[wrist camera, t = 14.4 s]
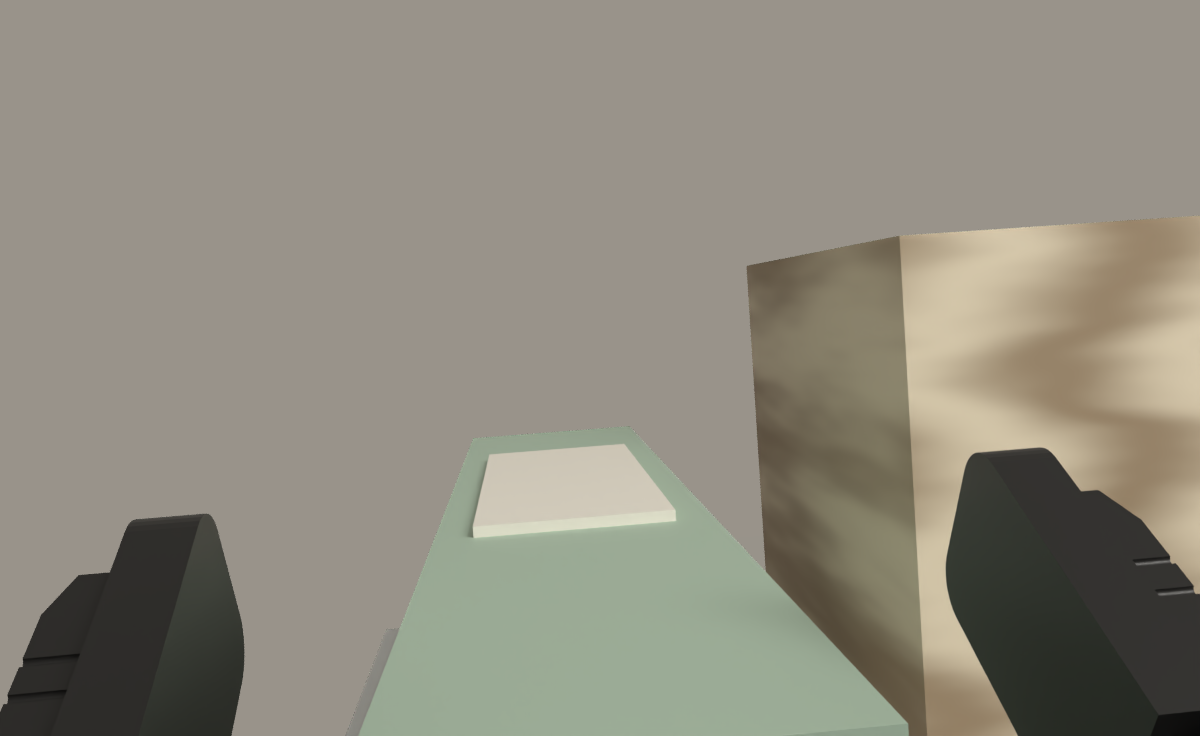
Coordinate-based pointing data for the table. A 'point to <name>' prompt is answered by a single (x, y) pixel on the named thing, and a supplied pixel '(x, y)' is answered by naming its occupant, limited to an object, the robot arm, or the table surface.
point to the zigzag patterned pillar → (963, 421)
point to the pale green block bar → (605, 612)
